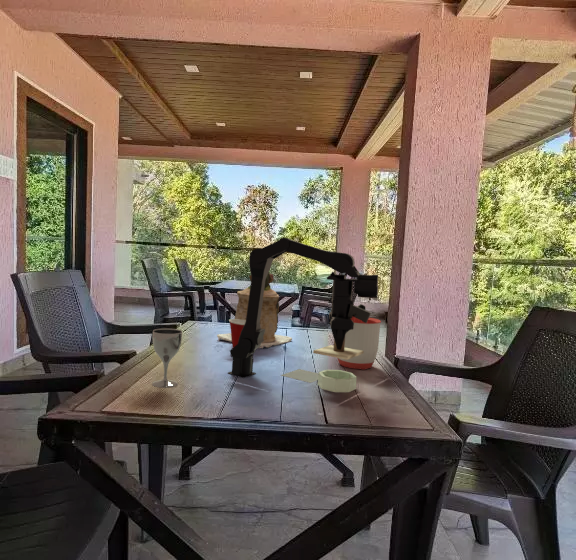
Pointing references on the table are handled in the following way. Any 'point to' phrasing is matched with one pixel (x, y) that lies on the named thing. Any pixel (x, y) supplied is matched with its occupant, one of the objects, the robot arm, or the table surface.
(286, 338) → the cookie jar
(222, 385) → the table surface
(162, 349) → the wine glass
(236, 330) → the plastic cup
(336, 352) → the lid
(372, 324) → the citrus juicer
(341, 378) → the bowl
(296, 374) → the mat
